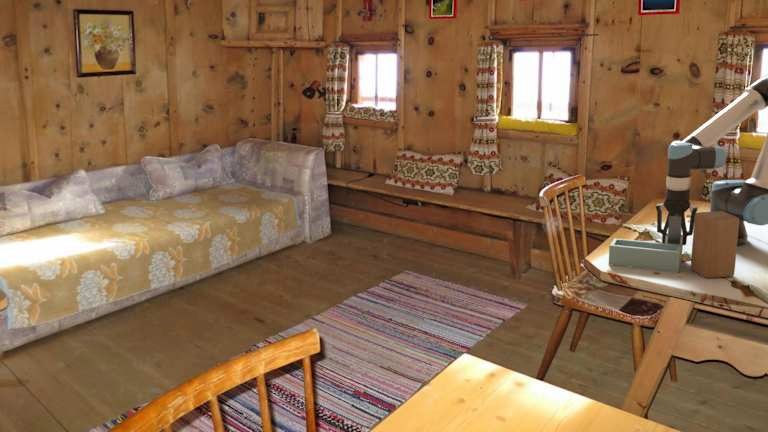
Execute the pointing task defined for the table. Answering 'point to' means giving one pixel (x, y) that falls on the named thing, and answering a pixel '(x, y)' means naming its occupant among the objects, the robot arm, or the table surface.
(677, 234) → the brushed steel bar
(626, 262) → the grey-green open box
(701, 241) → the wooden block
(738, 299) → the table surface
